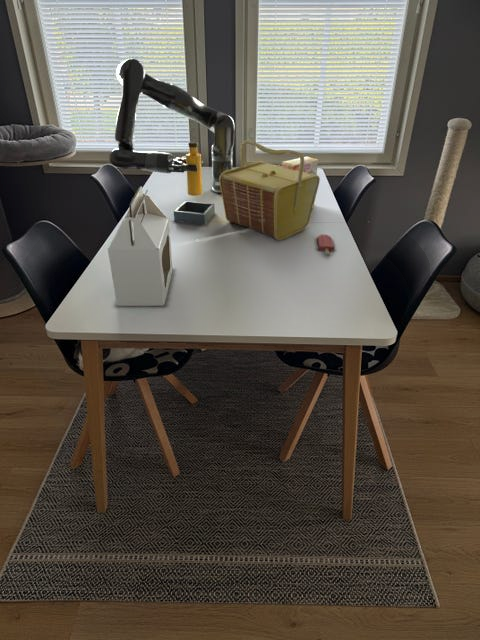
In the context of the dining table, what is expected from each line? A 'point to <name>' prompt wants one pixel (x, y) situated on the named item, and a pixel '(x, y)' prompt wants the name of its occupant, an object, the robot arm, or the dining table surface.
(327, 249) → the popsicle
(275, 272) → the dining table surface
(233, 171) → the picnic basket
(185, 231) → the dining table surface
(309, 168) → the coffeecake box
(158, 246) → the gable box
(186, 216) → the tub
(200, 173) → the bottle
